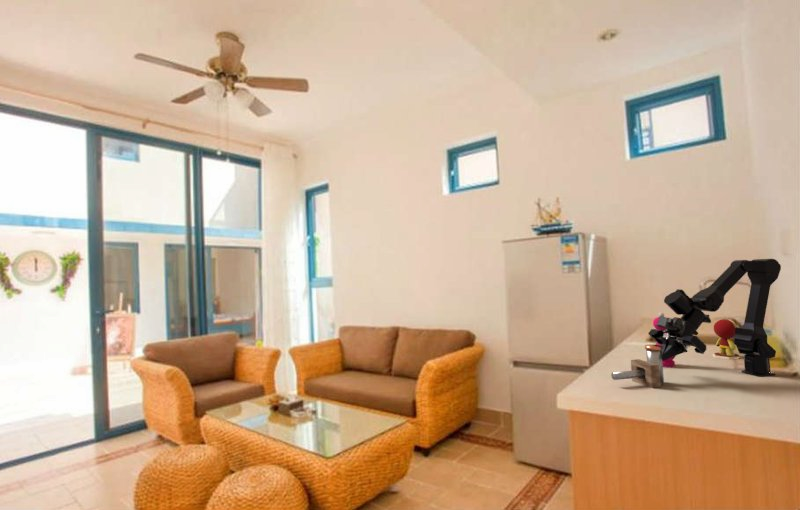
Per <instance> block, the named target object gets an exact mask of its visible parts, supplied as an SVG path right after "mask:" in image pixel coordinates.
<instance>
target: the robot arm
mask: <svg viewBox="0 0 800 510" xmlns="http://www.w3.org/2000/svg"><path fill="white" fill-rule="evenodd" d="M781 267H782V265H781V264H780V263H779V261H778V260H777V259H774V258H755V259H752V260H747V259H736V260H733V261H732V262H731V263H730V265H729V266H728V267H727V269H725V270H724V271H723V273H722V274H720V275H719V276H718V277H717V278H716V280H715V281H713V282H712V284H710V285H709V286H708V287H706V288H704V289H701V290H699V291H698V292H697V293H695V294H693V295H692V297H690V296H688V294H687V293H686V292H685V291H684V290H683V289H677V288H676V290H675V291H673V292H671V293H669V294H668V295H666V296H665V297H664V299H663V302H664V304H666V305H667V307H668V308H670V309H671V310H672V311H673V312H674V313H675V314H676V315H679V316H681V317H675V316H674V317H673V318H671V317H666V316H664V317H660V316H658V317H659V319H658V322H657V326H660V327H662V328H665V329H666V330H665V331H666V332H667V333H669V334H665V333H664V332H663V331H662V330H658V329H656V328H651V329H650V330H649V332H648V336H650V337H651V338H652V339H653V340H654V341H655V342H657V343H658V344H660V345H662V348H663V350H662V361H664V360H667V359H669V358H671V357H673V356H675V357H676V356H678V355H682V354H684V353H687V352H688V350H687V349H688V348H690V347H694V352H695V353H697V354H702V355H704V354H705V352H706V351H707V349H708V348H707V345H706V344H705V342H704V341H702V339H701V338H699V336H698V335H699V332H698V329H699V328H700V327H701V326H702V324H703V323H707V324H711V323H712V320H711V318H710V315H709V314H706V313H704V312H714V313H715V312H717V311H718V310H719V309H720V308H721V307H722V305H723V303H724V302H725V296H726V295H727V293H729V291H730V290H731V289H732V288H733V287H734V286H735V285H736V284H737V283H738V282H739V281H740V280H741V279H742V278H743V276H745V275H746V274H747V277H748V280H749V281H750V289H749V294H748V301H747V307H746V310H745V311H746V312H745V317H744V321H743V322H744V323H743V324H742V325H741V326H740V327H738V326H737V327H736V328H735V334H734V337H733V338H732V339H734V340H733V343H734V345H735V347H736V349H737V350H738V353H739V354H742V355H744V360H743V363H744V369H743V370H741V371H740V372H741V373H745V374H747V375H748V374H749V375H751V376H752V375H753V376H757V377H765V376H766V377H767V376H775V375H776V373H775V372H772V373H771V362H770V359H772V358H775V357H776V353H777V351H776V349H774V348H773V346H771V345H770V344H769V343H768V334H767V332H766V330H765V329H764V324H765V323H764V322H765V318H766V312H767V306H768V300H769V297H770V290H771V286H772V285H773V283H775V281H777V280H778V278H779V275H780V272H781V270H782V268H781ZM769 372H770V373H769Z"/></svg>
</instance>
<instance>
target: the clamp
mask: <svg viewBox="0 0 800 510" xmlns="http://www.w3.org/2000/svg"><path fill="white" fill-rule="evenodd" d="M644 350H645V354H646V361H647V362H650V363H654V364H657V365H659V373H660V385H664V384H665V380H664V379H665V377H664V367H663V362H662V350H663V348H662V346H661V345H656V344H652V343H651V344H650V343H649V344H644ZM641 377H645V378H646V375H645V369H643V370H632V371H631V370H625V371H615V372H614V371H613V372H611V379H612V380H613V381H619V380H627V379H632V378H641Z"/></svg>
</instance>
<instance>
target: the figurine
mask: <svg viewBox="0 0 800 510" xmlns="http://www.w3.org/2000/svg"><path fill="white" fill-rule="evenodd" d="M736 327H738V325H737V324H736V323H735V322H734V321H733V320H731V319H726V318H722V319H719V320H717V321H716V322H715V323H714V324H713V331H714V334H715V335H716V336H718V337H719V338H718V340H717V341H716V344H715V345H716V347H718V348H719V349H718V352H713V353H712V357H713V358H715V359H716V358H717V359H723V360H735V359H734V358H737V357H741V356H740V355H739V354H738V353H734V351H736V349H737V346H736V345H735V344H734V341H732V339H733V337H734V334H735V328H736Z"/></svg>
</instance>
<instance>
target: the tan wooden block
mask: <svg viewBox="0 0 800 510" xmlns="http://www.w3.org/2000/svg"><path fill="white" fill-rule="evenodd" d="M630 369H631V370H630V371H632V370H643V369H645V375H646V377H641V378H631V380H632V382H634V383H636V384H639V383H640V385H642V386H645V387H647V388H650V387H651V389H657V387H658V388H661V384H660V373H659V365H657V364H654V363H650V362H647V360H643V359H639V358H638V359H637V358H636V359H630Z"/></svg>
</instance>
